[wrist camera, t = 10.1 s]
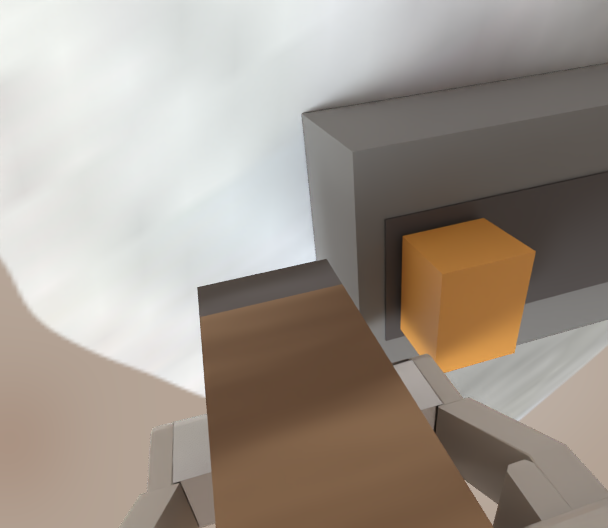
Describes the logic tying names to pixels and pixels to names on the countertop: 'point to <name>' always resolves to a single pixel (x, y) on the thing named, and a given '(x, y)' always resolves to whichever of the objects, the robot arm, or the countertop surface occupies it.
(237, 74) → the countertop surface
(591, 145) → the switch box
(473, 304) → the switch tab
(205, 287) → the brown wooden block
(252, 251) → the countertop surface
